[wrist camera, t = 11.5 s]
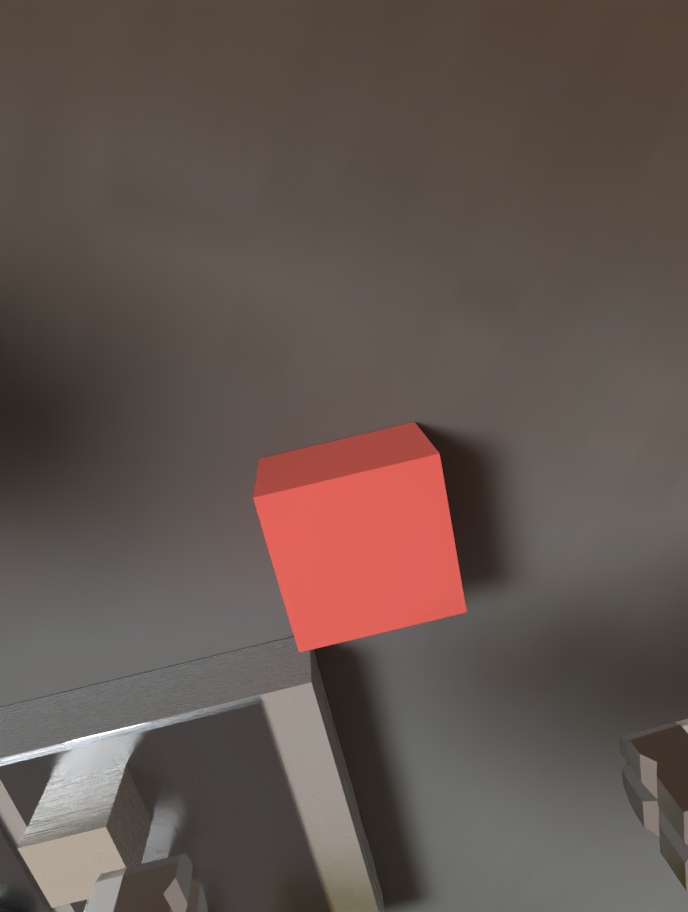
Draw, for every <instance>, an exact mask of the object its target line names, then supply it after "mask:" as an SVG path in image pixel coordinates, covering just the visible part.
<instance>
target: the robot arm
mask: <svg viewBox="0 0 688 912" xmlns="http://www.w3.org/2000/svg"><path fill="white" fill-rule="evenodd" d="M620 752H621V754H622V755H623V757H624V758H625V760H626V761H627V763H626V765H625V767H624V768H623V770H622V776H623V784H624V788H625V791H626V793H627V796H628V799H629V802H630V804H631V806H632V808H633V810H634V812H635V814H636V815H637V817H638V818H639V820H640V821H641V823H642V825H643V826H644V828H646V829H647V830H649V831H651V832H652V833H654V834H656V835H658V836H659V837H660V851H661V854H662V855H663V857H664V858H665V860H666V861H667V863H668V864H669V866H670V867H671V869H672V870H673V872H674V873H675V875H676V876H677V878H678V879H679V881H680V882H681V884H682V885H683V887H684V888H685V890H686V891H688V719H685V720H681V721H677V722H674V723H667V724H664V725H660V726H657V727H653V728H650V729H646V730H643V731H639V732H635V733H632V734H628V735H625V736H622V737H621V740H620ZM192 869H193V865H192V863H191V861H190V859H189V857H188V855H187V854H181V855H176V856H172V857H168V858H164V859H159V860H155V861H151V862H147V863H142V864H138V865H134V866H129V867H126V868H122V869H118V870H114V871H110V872H106V873H102V874H101V875H100V876H99V878H98V879H97V881H96V882H95V884H94V886H93V889H92V893H91V896H90V899H89V902H88V906H87V909H86V912H208V908H207V902H206V898H205V893H204V891H203V888H202V886H201V883H199V882H197V881H195V880H193V879H191V877H192Z"/></svg>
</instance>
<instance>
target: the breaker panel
mask: <svg viewBox="0 0 688 912" xmlns="http://www.w3.org/2000/svg"><path fill="white" fill-rule="evenodd" d="M181 854H187V855H188V857H189V859H190V861H191V863H192V865H193V869H192V877H191V879H193V880H195V881H197V882H199V883H201V886H202V888H203V891H204V893H205V898H206V902H207V908H208V912H385V909H384V902H383V896H382V889H381V885H380V881H379V878H378V874H377V871H376V867H375V864H374V860H373V857H372V853H371V850H370V846H369V843H368V839H367V836H366V832H365V829H364V825H363V822H362V818H361V814H360V811H359V807H358V804H357V800H356V797H355V793H354V790H353V786H352V783H351V779H350V776H349V772H348V769H347V765H346V762H345V758H344V755H343V751H342V748H341V744H340V741H339V737H338V734H337V730H336V727H335V723H334V720H333V716H332V713H331V709H330V706H329V702H328V699H327V695H326V691H325V688H324V684H323V681H322V677H321V674H320V670H319V667H318V663H317V660H316V656H315V653H314V649H312V650H308V651H304V652H300V653H299V651H298V648H297V644H296V641H295V638H294V637H291V638H286V639H282V640H278V641H274V642H270V643H266V644H261V645H257V646H253V647H249V648H245V649H241V650H237V651H232V652H228V653H224V654H220V655H216V656H212V657H208V658H203V659H199V660H195V661H191V662H187V663H183V664H179V665H174V666H170V667H166V668H162V669H158V670H154V671H149V672H145V673H141V674H137V675H133V676H129V677H125V678H120V679H116V680H112V681H108V682H104V683H100V684H96V685H91V686H87V687H83V688H79V689H75V690H71V691H67V692H62V693H58V694H54V695H50V696H46V697H42V698H38V699H33V700H29V701H25V702H21V703H17V704H13V705H8V706H4V707H0V912H86V909H87V906H88V902H89V899H90V896H91V893H92V889H93V886H94V884H95V882H96V881H97V879H98V878H99V876H100V875H101V874H102V873H106V872H110V871H114V870H118V869H122V868H126V867H129V866H134V865H138V864H142V863H147V862H151V861H155V860H159V859H164V858H168V857H172V856H176V855H181Z"/></svg>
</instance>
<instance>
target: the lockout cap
mask: <svg viewBox="0 0 688 912" xmlns="http://www.w3.org/2000/svg"><path fill="white" fill-rule="evenodd" d="M253 499H254V502H255V506H256V509H257V512H258V516H259V519H260V523H261V526H262V529H263V533H264V536H265V540H266V543H267V546H268V550H269V553H270V556H271V560H272V563H273V567H274V570H275V573H276V577H277V580H278V584H279V587H280V590H281V594H282V597H283V600H284V604H285V607H286V611H287V614H288V617H289V621H290V624H291V627H292V631H293V634H294V638H295V641H296V644H297V648H298V651H299V653H300V652H304V651H308V650H312V649H316V648H321V647H325V646H329V645H333V644H337V643H341V642H345V641H350V640H354V639H358V638H362V637H366V636H370V635H374V634H379V633H383V632H387V631H391V630H395V629H399V628H403V627H408V626H412V625H416V624H420V623H424V622H428V621H432V620H437V619H441V618H445V617H449V616H453V615H457V614H461V613H465V612H467V611H466V605H465V599H464V593H463V588H462V582H461V576H460V570H459V564H458V558H457V552H456V546H455V541H454V535H453V529H452V523H451V517H450V511H449V505H448V500H447V494H446V488H445V482H444V476H443V470H442V464H441V458H440V453H439V452H438V451H437V450H436V448H435V447H434V446H433V445H432V443H431V442H430V441H429V439H428V438H427V437H426V436H425V434H424V433H423V432H422V431H421V429H420V428H419V427H418V426H417V424H416V423H415V422H412V423H408V424H404V425H399V426H395V427H391V428H387V429H382V430H378V431H374V432H370V433H366V434H361V435H357V436H353V437H349V438H344V439H340V440H336V441H332V442H327V443H323V444H319V445H315V446H310V447H306V448H302V449H298V450H294V451H289V452H285V453H281V454H277V455H272V456H268V457H264V458H260V459H259V463H258V470H257V476H256V483H255V489H254V496H253Z"/></svg>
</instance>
